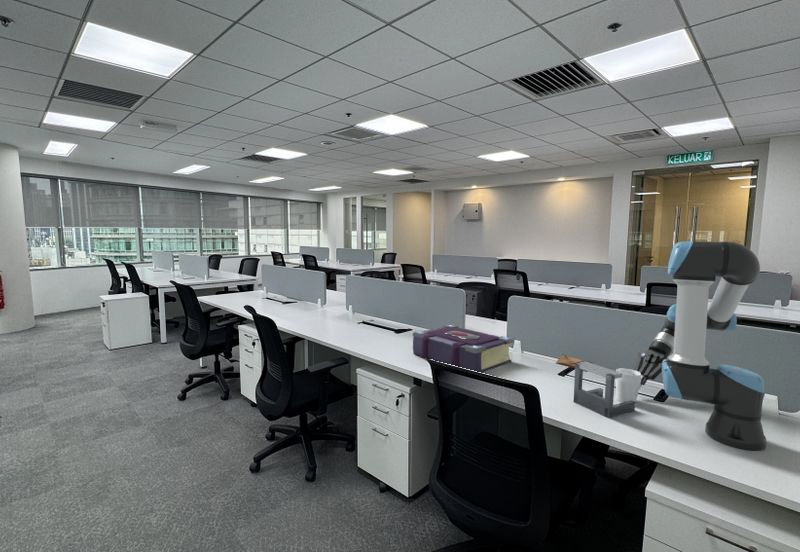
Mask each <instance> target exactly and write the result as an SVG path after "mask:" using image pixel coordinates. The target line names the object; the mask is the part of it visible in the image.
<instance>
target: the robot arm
mask: <svg viewBox="0 0 800 552" xmlns="http://www.w3.org/2000/svg"><path fill="white" fill-rule="evenodd" d="M669 256H670V257H669V260H668V266H667V274H668V275H670V276H672V281H673V282H674V283H675V284H676V286H677V289H676V291H677V292H676V304H675V303H674V304H673V305H671V306H670V307H669V308H668V310H667V311H666V315H665V316H666V317H665V320H664V323H663V324H662V326H661V328H660V330H659V331H658V333H657V335H656V336H655V337H654V338H653V341H652V342H651V344H650V345H649V347H648V350H646V351H645V352H644V353H641V352H638V353H637V357H638V358H637V359H636V364H635V366H634V369H633V370H635V371H638V372H640V373H641V383H640V387H639V390H640V389H641V388H642V386H645V385H646V383H647V381H649V380H652V381H654V380H655V379H656V378H657V377H658V376H660V374H661V376H662V384H663V388H664V389H663V390H664V391H665V394H666V395H667V396H668V397H670V398H674V399H680V400H682V401H683V400H684V401H685V400H686V401H691V402H695V403H696V402H697V403H704V404H709V405H714V406H713V411H712V413H711V415H710V416H709V419H707V422H706V424H705V428H704V430H705V431H704V432H705V434H706V435H707V436H709V437H710V438H711V439H713V440H715V441H717V442H720V443H722V444H724V445H728V446H731V447H734V448H738V449H742V450H746V451H747V450H748V451H762V450H764V449H766V447H767V437H766V436H765V434H764V430H763V429H764V428H763V425H762V411H763V403H764V402H763V401H764V394H765V381H764V380H765V379H764V378H763V377H762V376H761V375H759V374H758V373H756V372H754V371H751V370H749V369H746V368H742V367H739V366H734V365H729V364H718V365H717V366H716V368H711V367H710V366H711V364H710V362H709V361H708V360H707V359H706V357H705V355H706V337H707V330H712V331H720V332H725V331H726V332H733V331H734V330H735V329H736V327H737V322H738V321H737V319H738V318H737V315H736V312H735V311H736V309H737V308H738V306H739V304H740V302H741V301H742V298H743V297H744V294H745V293H746V291H747V289H748V287H749V286H750V285H752V284H754V283H755V282H756V280H757V278H758V277H759V275H760V273H761V272H760V270H761V264H760V261H759V258H758V256H757V255H756V254H755V253H754V252H753V251H752V249H750V248H749V247H747V246H746V245H744V244H742V243H739V242H735V241H705V240H704V241H702V240H701V241H698V240H695V241H694V240H690V241H679V242H676V243H675V244H674V245H673V248H672V249H671V253H670V255H669ZM717 277H718V278H720V281H719V282H718V285H717V287H716V289H715V291H714V295H713V297H712V299H711V302H710V304H709V294H710V287H711V286H712V285H713V284H715V283H716V278H717ZM672 352H673V353H672ZM671 353H672V354H671Z"/></svg>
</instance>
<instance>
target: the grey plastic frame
mask: <svg viewBox="0 0 800 552" xmlns="http://www.w3.org/2000/svg"><path fill="white" fill-rule="evenodd" d="M584 361H585V362H579V363H575V368H574V384H573V385H574V387H573V401H572V402H573V403H575V404H578V406H581V407H584V408H586V409H588V410H590V411H592V412H594V413H596V414H599V415H601V416H603V417H605V418H607V419H611V418H613V417H617V416H620V415H625V414H627V413H630V412H635V407H636V403H635V401H632V400H630V401H627V402H620V403H615V404H614V398H615V397H614V396H615V394H614V393H615V379H617V378H622V373H619V372H616V370H614V369H609V368H607V367H604V366H601V365H598V364H595V363H594V362H592V363H590V362H591V361H589V362H587V361H588V360H584ZM593 363H594V364H593ZM583 370H585V371H588V372H587V373H591V374H594V375H596V376H600V377H602V378H604V379H605V386H604V387H605V388H604V389H605V390H604V389H603V388H601V387H599V388H594V389H589V390H585V389H583V377H584V376H583V374H584V372H585V371H583Z"/></svg>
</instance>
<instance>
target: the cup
mask: <svg viewBox="0 0 800 552" xmlns="http://www.w3.org/2000/svg"><path fill="white" fill-rule="evenodd" d="M615 371H616V372H619V373H622V378H617V379H615V382H614V384H615V391H616V392H615V393H616V400H617V401H618V402H620V403H623V402H627V401H630V400H632V401H635V404H636V403H637V399H638V395H639V391H640V389H639V387H640V383H641V373H640V372H638V371H635V370H634V369H633V368H632V369H631V368H626V367H625V368H623V367H622V368H621V367H620V368H616V369H615Z"/></svg>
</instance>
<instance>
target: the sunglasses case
mask: <svg viewBox="0 0 800 552" xmlns="http://www.w3.org/2000/svg"><path fill="white" fill-rule="evenodd" d="M564 355H565V357H564V356H562V355H561V356H560V358H558V360H557V361H555V365H561V366H565V367H567V366H568V367H567V368H571V367H572V368H571V369H575V363H579V362H585V361H587V362H590V363H593V364H595V363H594V362H591V361H590V360H589V361H588V360H583V359H580V358H577V357H572V356H570V355H569V356H568V355H566V354H564ZM583 372H586V373H589V372H588V371H585V370H583Z"/></svg>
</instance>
